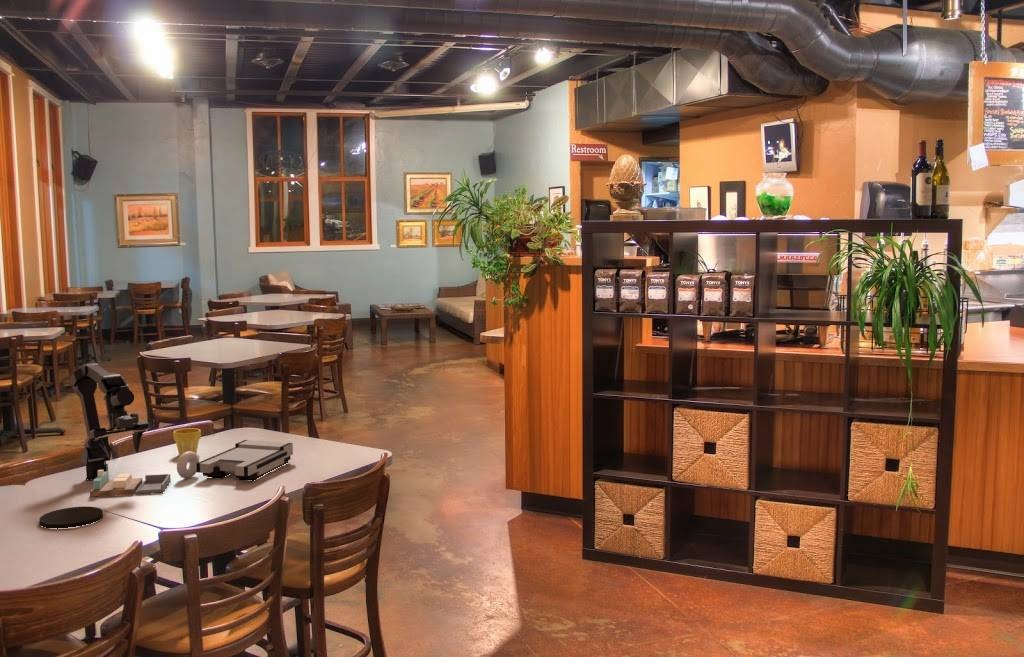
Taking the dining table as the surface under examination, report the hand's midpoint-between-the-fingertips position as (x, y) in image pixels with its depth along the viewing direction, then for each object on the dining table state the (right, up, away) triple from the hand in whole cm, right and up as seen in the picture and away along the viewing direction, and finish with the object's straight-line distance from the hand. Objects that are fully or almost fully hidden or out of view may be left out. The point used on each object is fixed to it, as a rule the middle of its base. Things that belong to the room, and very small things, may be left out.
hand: (123, 454), depth 309 cm
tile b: (-2, -10, +6) cm, 12 cm away
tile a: (-1, -11, +1) cm, 11 cm away
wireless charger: (-4, -17, -29) cm, 34 cm away
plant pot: (+3, -8, +53) cm, 54 cm away
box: (+8, -12, +6) cm, 16 cm away
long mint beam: (-9, -11, +2) cm, 14 cm away
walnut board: (-4, -13, +4) cm, 14 cm away
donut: (+16, -11, +18) cm, 27 cm away
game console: (+34, -11, +27) cm, 45 cm away
